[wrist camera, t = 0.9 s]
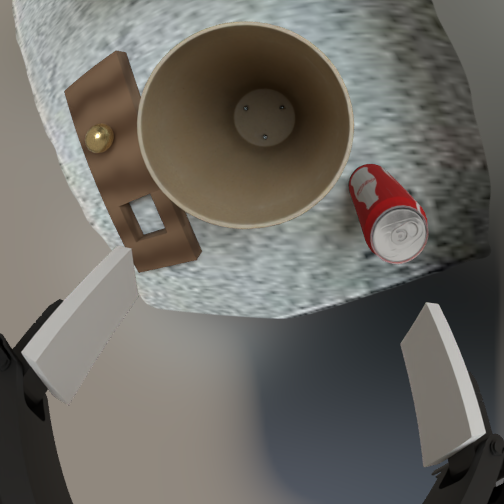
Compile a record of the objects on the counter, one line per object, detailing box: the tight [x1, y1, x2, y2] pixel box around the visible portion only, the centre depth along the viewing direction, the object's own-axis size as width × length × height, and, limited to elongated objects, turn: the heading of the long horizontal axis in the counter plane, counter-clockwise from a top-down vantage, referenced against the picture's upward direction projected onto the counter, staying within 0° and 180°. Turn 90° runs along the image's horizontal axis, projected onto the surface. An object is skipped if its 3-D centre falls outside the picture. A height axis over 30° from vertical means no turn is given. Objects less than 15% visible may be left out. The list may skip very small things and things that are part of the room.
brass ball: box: [85, 123, 114, 153], centre depth 29 cm, size 4×4×4 cm
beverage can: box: [349, 164, 428, 264], centre depth 25 cm, size 6×6×15 cm
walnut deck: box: [64, 51, 202, 273], centre depth 34 cm, size 32×11×2 cm, turn 18°
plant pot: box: [137, 22, 354, 229], centre depth 23 cm, size 15×15×16 cm
